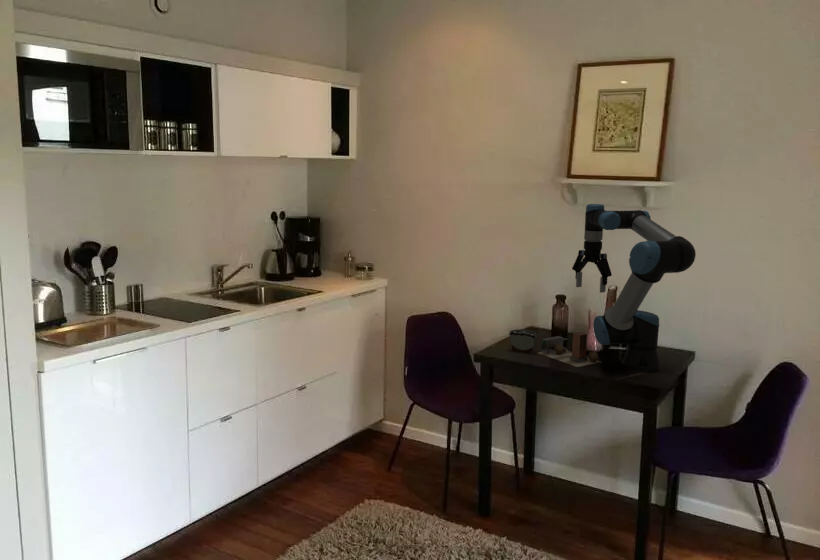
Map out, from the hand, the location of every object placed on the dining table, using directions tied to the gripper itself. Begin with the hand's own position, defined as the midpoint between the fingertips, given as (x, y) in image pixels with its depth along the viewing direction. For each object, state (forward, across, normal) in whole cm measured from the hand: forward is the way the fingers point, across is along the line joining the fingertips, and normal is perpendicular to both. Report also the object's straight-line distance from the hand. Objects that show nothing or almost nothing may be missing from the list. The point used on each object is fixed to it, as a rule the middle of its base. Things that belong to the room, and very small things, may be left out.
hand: (590, 289), depth 298 cm
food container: (+29, +15, +23) cm, 40 cm away
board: (+29, -2, +13) cm, 32 cm away
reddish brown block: (+28, -8, +13) cm, 31 cm away
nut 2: (+28, -12, +8) cm, 31 cm away
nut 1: (+28, +4, +13) cm, 31 cm away
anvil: (+28, +6, +13) cm, 31 cm away
